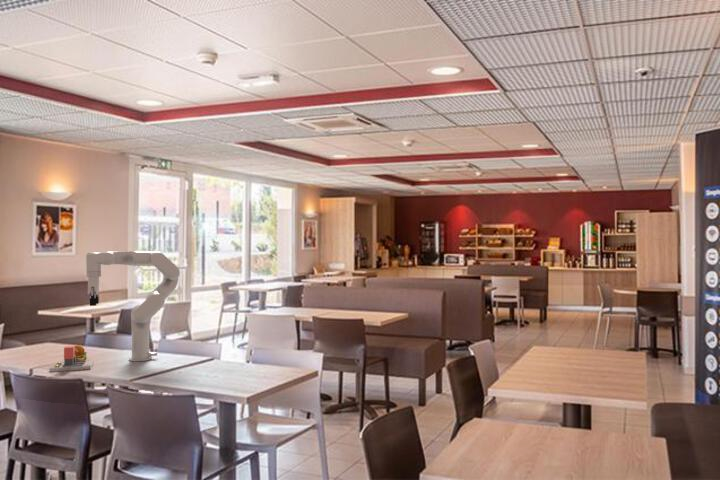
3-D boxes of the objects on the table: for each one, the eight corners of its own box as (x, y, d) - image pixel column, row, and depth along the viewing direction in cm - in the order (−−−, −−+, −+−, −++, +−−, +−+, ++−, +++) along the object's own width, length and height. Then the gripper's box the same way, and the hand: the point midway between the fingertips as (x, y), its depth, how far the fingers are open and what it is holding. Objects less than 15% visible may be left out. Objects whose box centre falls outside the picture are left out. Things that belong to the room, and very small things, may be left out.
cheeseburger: (91, 358, 357) (89, 343, 354) (81, 367, 346) (79, 350, 344) (75, 358, 358) (72, 342, 355) (64, 366, 347) (62, 350, 345)
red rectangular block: (74, 357, 331) (74, 345, 331) (73, 358, 327) (73, 347, 327) (65, 357, 330) (65, 346, 330) (64, 359, 326) (64, 347, 326)
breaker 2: (76, 362, 337) (76, 355, 337) (75, 363, 333) (74, 356, 333) (68, 362, 335) (68, 355, 335) (67, 364, 332) (66, 356, 332)
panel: (93, 364, 340) (93, 359, 340) (90, 369, 329) (90, 363, 329) (54, 367, 335) (54, 361, 335) (49, 371, 323) (49, 366, 323)
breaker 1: (73, 364, 331) (73, 357, 331) (72, 365, 327) (72, 358, 327) (65, 365, 330) (65, 357, 330) (64, 366, 326) (64, 358, 326)
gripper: (88, 273, 351) (89, 303, 351) (84, 275, 334) (84, 306, 334) (102, 273, 353) (103, 302, 353) (98, 275, 336) (99, 306, 336)
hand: (94, 304), depth 344 cm, fingers open, 9 cm apart
